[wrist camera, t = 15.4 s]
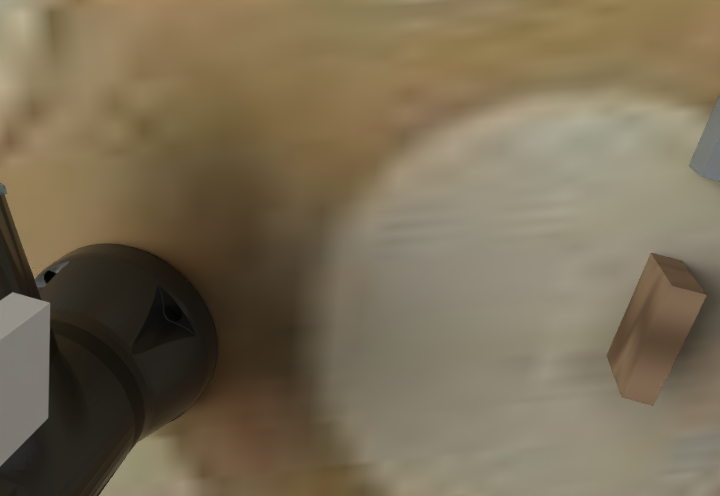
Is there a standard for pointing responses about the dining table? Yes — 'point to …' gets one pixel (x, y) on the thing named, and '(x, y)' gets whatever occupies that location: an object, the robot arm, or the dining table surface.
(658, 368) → the tan block
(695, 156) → the tray
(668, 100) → the dining table surface
